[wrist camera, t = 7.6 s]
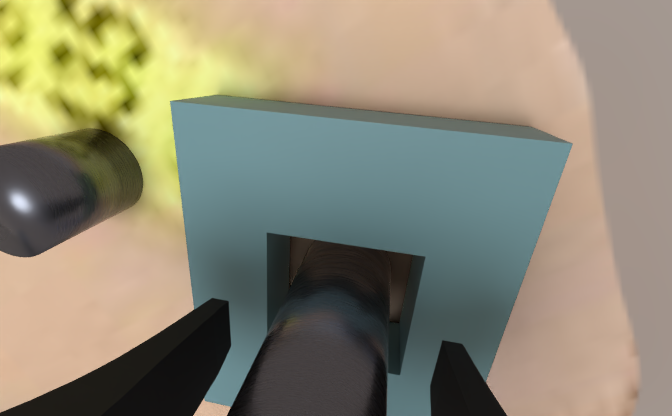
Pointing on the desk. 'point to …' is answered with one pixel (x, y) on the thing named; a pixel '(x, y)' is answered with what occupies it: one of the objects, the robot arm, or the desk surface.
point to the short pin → (62, 188)
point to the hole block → (362, 219)
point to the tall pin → (326, 340)
